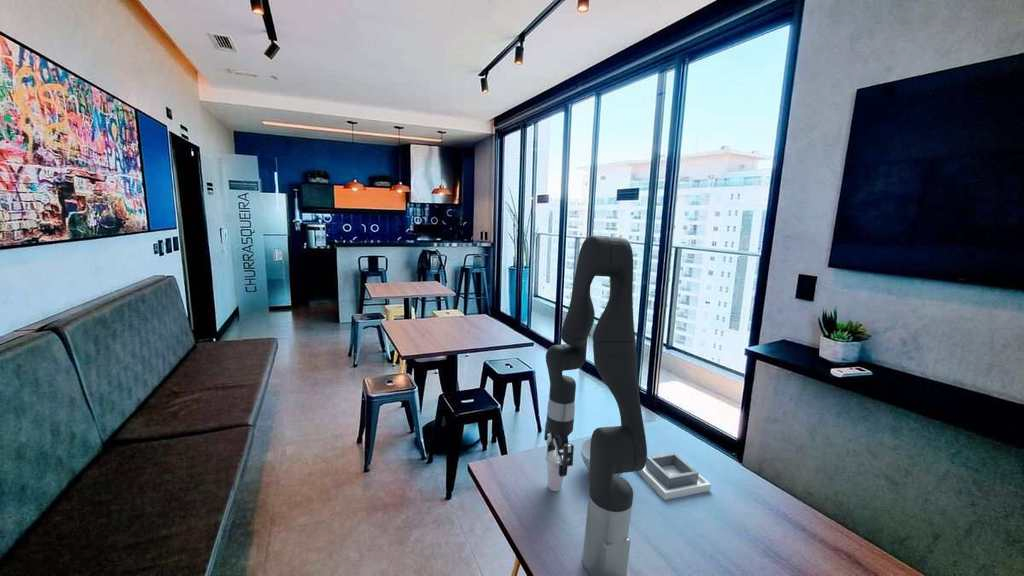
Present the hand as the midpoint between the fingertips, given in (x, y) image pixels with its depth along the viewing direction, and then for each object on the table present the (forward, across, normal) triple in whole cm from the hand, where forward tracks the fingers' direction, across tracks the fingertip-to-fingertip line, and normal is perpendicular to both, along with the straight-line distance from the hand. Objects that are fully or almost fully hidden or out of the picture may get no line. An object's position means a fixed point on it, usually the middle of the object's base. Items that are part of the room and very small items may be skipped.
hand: (556, 466), depth 115 cm
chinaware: (+7, +2, -17) cm, 18 cm away
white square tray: (+7, -5, -36) cm, 37 cm away
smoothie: (+7, 0, 0) cm, 7 cm away
